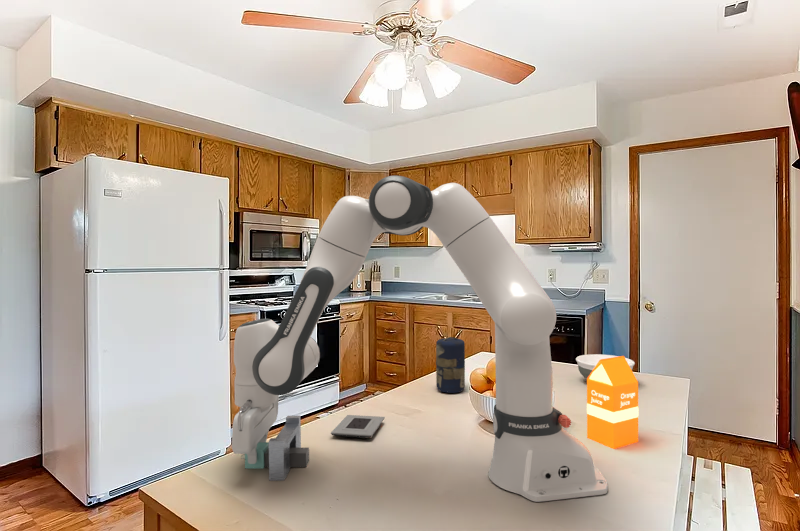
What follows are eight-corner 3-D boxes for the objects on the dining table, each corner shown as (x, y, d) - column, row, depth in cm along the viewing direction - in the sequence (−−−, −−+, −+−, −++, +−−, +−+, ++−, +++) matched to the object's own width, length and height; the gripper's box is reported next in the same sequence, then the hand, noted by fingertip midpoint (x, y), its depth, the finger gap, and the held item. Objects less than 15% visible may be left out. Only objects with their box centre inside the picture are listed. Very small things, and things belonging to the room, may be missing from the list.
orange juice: (639, 442, 111) (638, 358, 110) (613, 449, 107) (613, 362, 106) (610, 431, 118) (610, 352, 117) (586, 437, 114) (585, 356, 113)
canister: (432, 388, 158) (431, 335, 157) (457, 385, 161) (457, 333, 160) (443, 396, 149) (442, 340, 148) (470, 393, 152) (469, 338, 151)
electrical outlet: (371, 443, 113) (371, 434, 112) (330, 441, 115) (330, 431, 115) (384, 424, 125) (384, 415, 125) (347, 422, 128) (347, 413, 128)
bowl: (587, 391, 152) (587, 366, 152) (568, 376, 171) (568, 354, 170) (645, 391, 151) (645, 366, 151) (620, 376, 170) (620, 354, 170)
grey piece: (300, 449, 109) (300, 415, 109) (284, 480, 94) (283, 441, 94) (288, 449, 109) (287, 415, 109) (269, 480, 94) (268, 441, 94)
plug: (309, 459, 103) (309, 442, 103) (305, 468, 99) (305, 449, 99) (246, 460, 103) (245, 442, 103) (239, 468, 99) (239, 450, 99)
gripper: (254, 409, 91) (256, 479, 91) (282, 381, 111) (283, 438, 111) (222, 409, 91) (224, 479, 91) (256, 381, 111) (257, 438, 111)
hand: (257, 456), depth 101 cm, fingers closed on plug, 4 cm apart
